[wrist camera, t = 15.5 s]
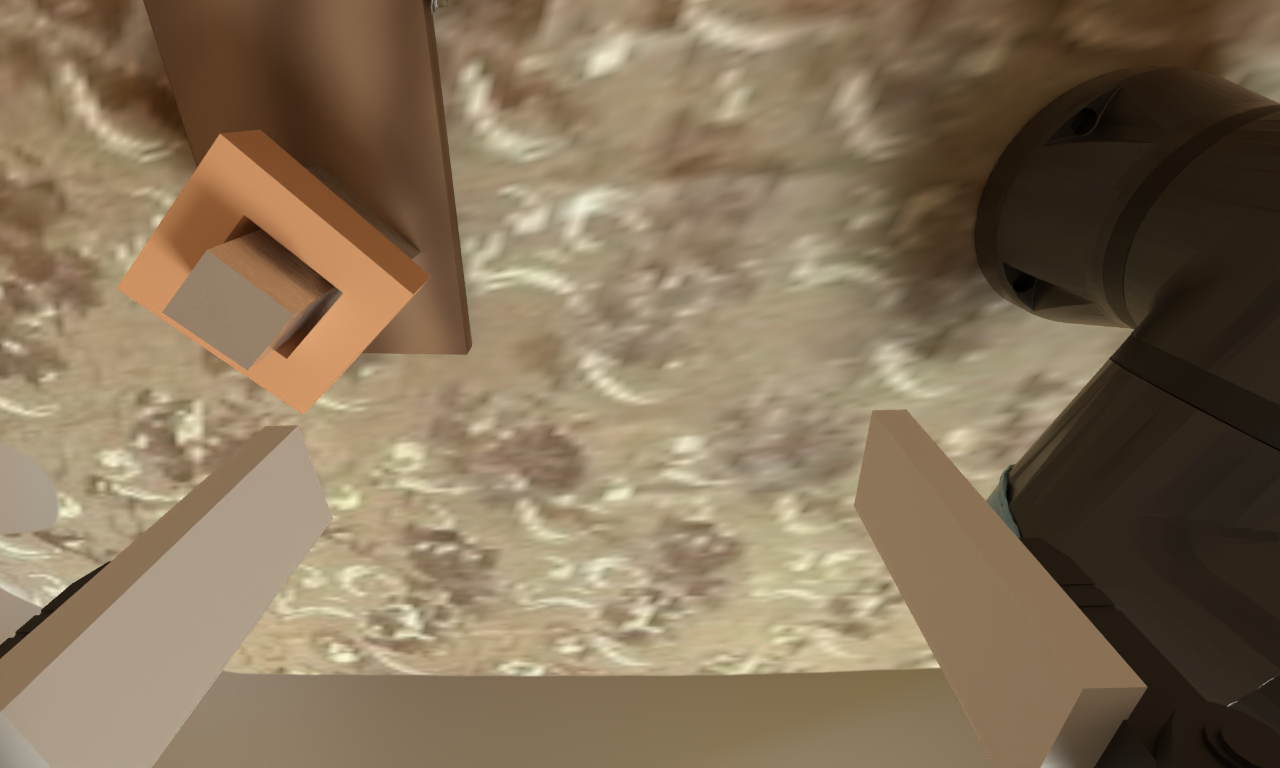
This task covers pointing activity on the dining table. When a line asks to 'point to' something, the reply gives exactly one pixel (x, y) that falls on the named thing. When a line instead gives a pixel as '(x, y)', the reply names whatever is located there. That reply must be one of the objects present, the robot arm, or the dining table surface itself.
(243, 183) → the collar
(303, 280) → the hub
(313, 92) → the board
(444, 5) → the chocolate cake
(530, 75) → the dining table surface
